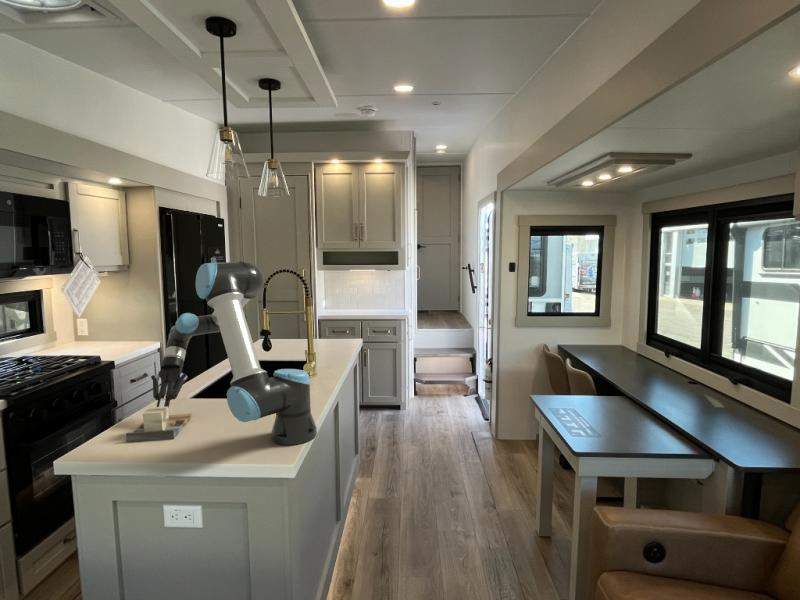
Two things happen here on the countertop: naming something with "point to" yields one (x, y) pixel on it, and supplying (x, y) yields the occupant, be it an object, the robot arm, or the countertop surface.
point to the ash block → (156, 419)
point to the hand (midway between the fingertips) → (160, 416)
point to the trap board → (170, 432)
